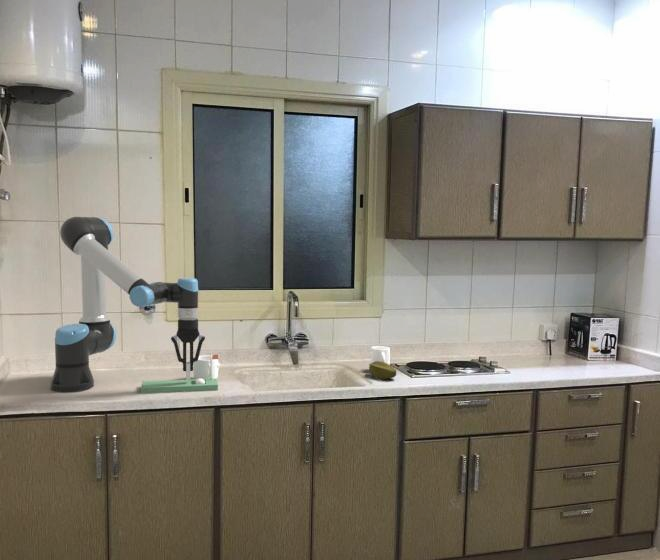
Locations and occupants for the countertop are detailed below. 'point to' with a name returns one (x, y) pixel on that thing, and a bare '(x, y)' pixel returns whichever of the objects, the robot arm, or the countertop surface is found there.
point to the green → (180, 384)
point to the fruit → (382, 370)
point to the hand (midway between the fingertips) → (188, 379)
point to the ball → (200, 381)
